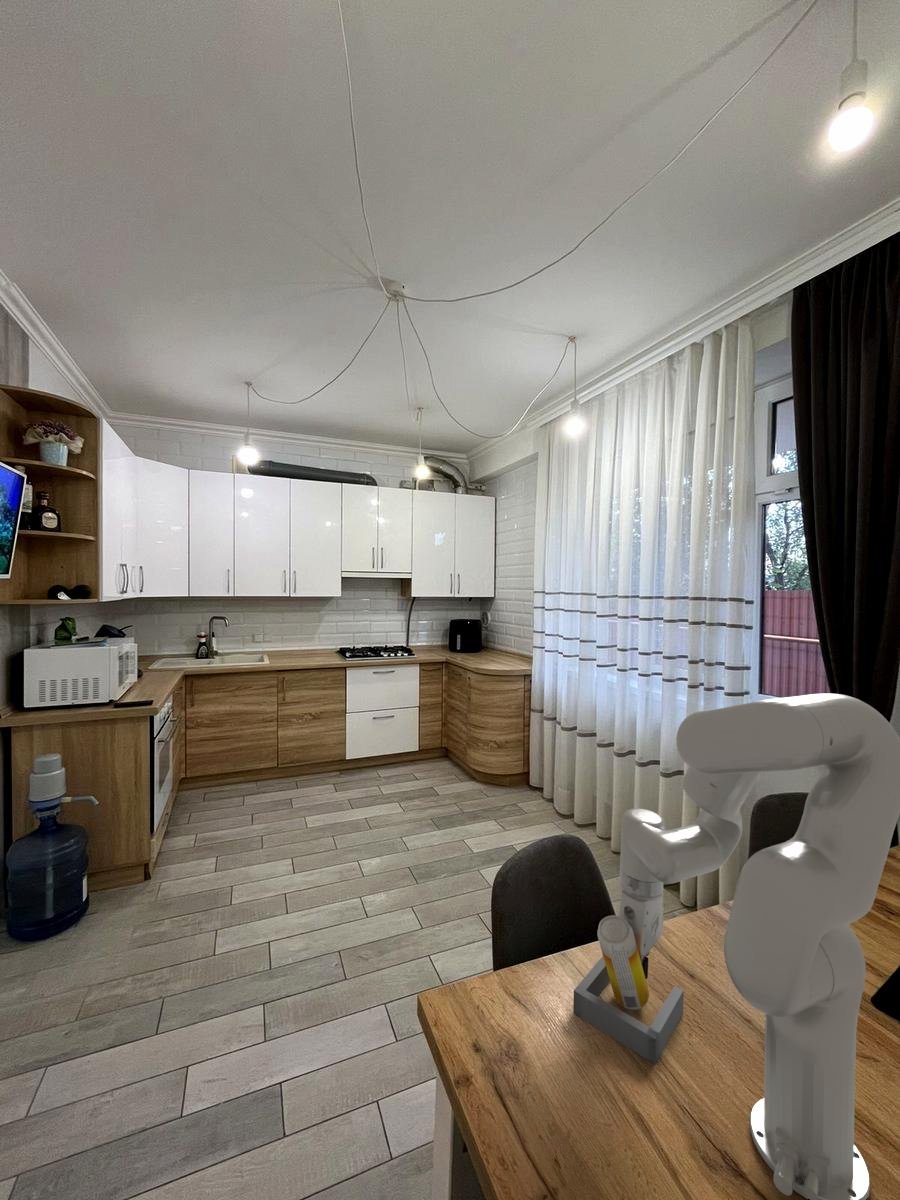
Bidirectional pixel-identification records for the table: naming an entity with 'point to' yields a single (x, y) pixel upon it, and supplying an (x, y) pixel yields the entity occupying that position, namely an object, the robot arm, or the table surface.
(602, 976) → the corral
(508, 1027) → the table surface
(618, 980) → the beer can
